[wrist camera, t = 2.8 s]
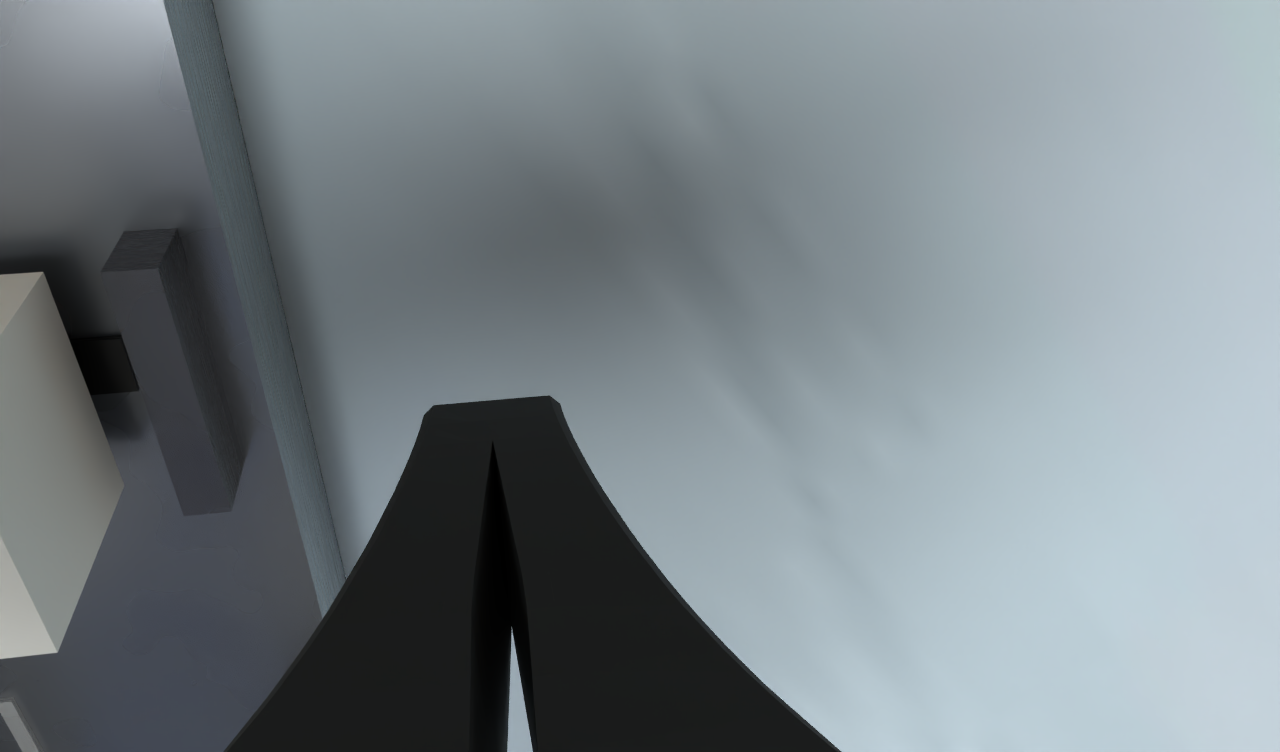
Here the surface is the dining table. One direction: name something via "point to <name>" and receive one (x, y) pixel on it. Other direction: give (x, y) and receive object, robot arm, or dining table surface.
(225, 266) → the console
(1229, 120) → the dining table surface
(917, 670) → the dining table surface
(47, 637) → the fader tab
